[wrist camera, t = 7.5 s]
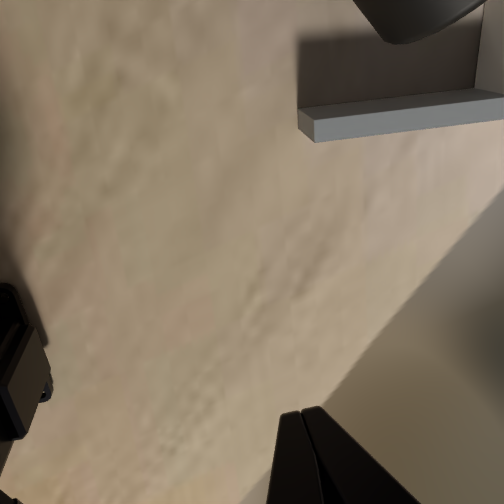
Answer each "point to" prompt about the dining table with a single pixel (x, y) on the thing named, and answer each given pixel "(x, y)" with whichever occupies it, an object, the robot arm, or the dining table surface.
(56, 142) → the dining table surface
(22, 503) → the robot arm
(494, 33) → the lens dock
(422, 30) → the end cap
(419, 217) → the dining table surface
